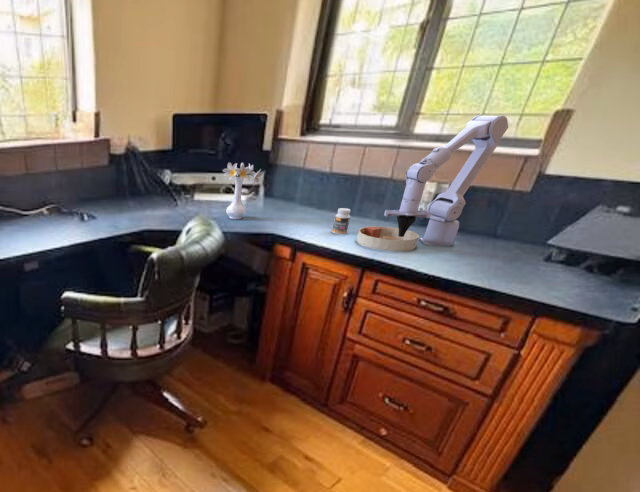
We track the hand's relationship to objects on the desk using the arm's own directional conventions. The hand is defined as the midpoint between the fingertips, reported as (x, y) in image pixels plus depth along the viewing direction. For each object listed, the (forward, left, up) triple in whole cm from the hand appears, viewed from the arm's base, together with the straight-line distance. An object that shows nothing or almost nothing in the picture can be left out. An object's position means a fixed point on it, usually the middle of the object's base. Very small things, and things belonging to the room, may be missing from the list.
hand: (400, 236), depth 159 cm
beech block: (+6, +7, -3) cm, 10 cm away
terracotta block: (+9, -6, -3) cm, 11 cm away
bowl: (+5, 0, -4) cm, 6 cm away
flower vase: (+64, -31, -4) cm, 71 cm away
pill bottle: (+20, -13, -4) cm, 24 cm away
